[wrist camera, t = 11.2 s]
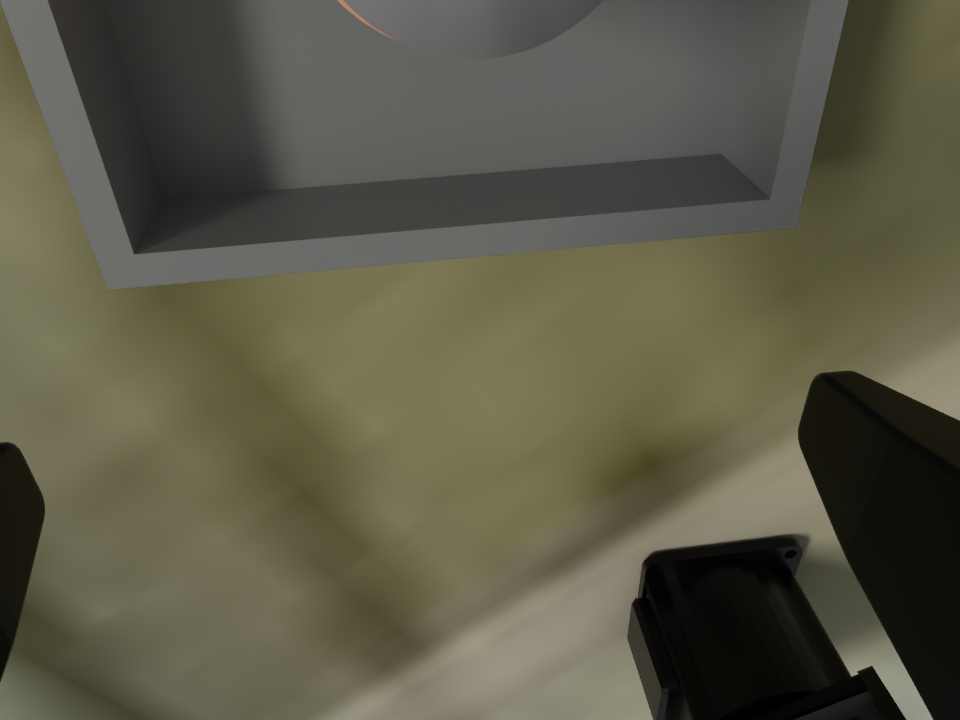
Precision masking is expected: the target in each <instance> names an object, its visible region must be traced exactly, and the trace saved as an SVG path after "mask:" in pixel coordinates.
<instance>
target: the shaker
mask: <svg viewBox="0 0 960 720" xmlns="http://www.w3.org/2000/svg"><path fill="white" fill-rule="evenodd" d="M337 1H338V2H339V3H340V4H341V5H342V6H343V7H344V8H346V9H347V10H348V11H349V12H351V13H352V14H353V15H354V16H356V17H357V18H358V19H359V20H361V21H362V22H363V23H365V24H367V25H368V26H370V27H372V28H373V29H375V30H376V31H378V32H380V33H381V34H383V35H385V36H387V37H390V38H392V39H394V40H396V41H398V42H401V43H403V44H405V45H407V46H410V47H412V48H414V49H416V50H420V51H423V52H427V53H430V54H434V55H437V56H443V57H450V58H457V59H490V58H497V57H505V56H509V55H513V54H516V53H520V52H524V51H527V50H530V49H532V48H535V47H537V46H539V45H542V44H544V43H546V42H549V41H551V40H552V39H554V38H556V37H557V36H559V35H561V34H563V33H564V32H566V31H568V30H569V29H571V28H572V27H573V26H575V25H576V24H577V23H579V22H580V21H581V20H582V19H584V18H585V17H586V16H588V15H589V14H590V13H591V12H592V11H593V10H594V9H595V8H596V7H597V6H598V5H599V4H600V3H601V2H602V1H603V0H337Z"/></svg>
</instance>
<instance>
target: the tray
mask: <svg viewBox="0 0 960 720" xmlns="http://www.w3.org/2000/svg"><path fill="white" fill-rule="evenodd" d="M848 1H849V0H603V1H602V2H601V3H600V4H599V5H598V6H597V7H596V8H595V9H594V10H593V11H592V12H591V13H590V14H589V15H588V16H586V17H585V18H584V19H582V20H581V21H580V22H579V23H577V24H576V25H575V26H573V27H572V28H571V29H569V30H568V31H566V32H564V33H563V34H561V35H559V36H557V37H556V38H554V39H552V40H551V41H549V42H546V43H544V44H542V45H539V46H537V47H535V48H532V49H530V50H527V51H524V52H520V53H516V54H513V55H509V56H505V57H497V58H490V59H457V58H450V57H443V56H437V55H434V54H430V53H427V52H423V51H420V50H416V49H414V48H412V47H410V46H407V45H405V44H403V43H401V42H398V41H396V40H394V39H392V38H390V37H387V36H385V35H383V34H381V33H380V32H378V31H376V30H375V29H373V28H372V27H370V26H368V25H367V24H365V23H363V22H362V21H361V20H359V19H358V18H357V17H356V16H354V15H353V14H352V13H351V12H349V11H348V10H347V9H346V8H344V7H343V6H342V5H341V4H340V3H339V2H338V1H337V0H0V2H1V5H2V7H3V10H4V13H5V15H6V18H7V21H8V23H9V26H10V29H11V31H12V34H13V37H14V39H15V42H16V45H17V47H18V50H19V53H20V55H21V58H22V61H23V63H24V66H25V69H26V71H27V74H28V77H29V79H30V82H31V85H32V88H33V90H34V93H35V96H36V98H37V101H38V104H39V106H40V109H41V112H42V114H43V117H44V120H45V122H46V125H47V128H48V130H49V133H50V136H51V138H52V141H53V144H54V146H55V149H56V152H57V154H58V157H59V160H60V162H61V165H62V168H63V170H64V173H65V176H66V179H67V181H68V184H69V187H70V189H71V192H72V195H73V197H74V200H75V203H76V205H77V208H78V211H79V213H80V216H81V219H82V221H83V224H84V227H85V229H86V232H87V235H88V237H89V240H90V243H91V245H92V248H93V251H94V253H95V256H96V259H97V261H98V264H99V267H100V269H101V272H102V275H103V278H104V280H105V283H106V286H107V288H108V290H111V289H123V288H134V287H145V286H156V285H167V284H178V283H189V282H200V281H212V280H223V279H234V278H245V277H256V276H267V275H278V274H290V273H301V272H312V271H323V270H334V269H345V268H356V267H368V266H379V265H390V264H401V263H412V262H423V261H434V260H445V259H457V258H468V257H479V256H490V255H501V254H512V253H523V252H535V251H546V250H557V249H568V248H579V247H590V246H601V245H612V244H624V243H635V242H646V241H657V240H668V239H679V238H690V237H702V236H713V235H724V234H735V233H746V232H757V231H768V230H779V229H791V228H796V227H797V223H798V219H799V214H800V210H801V206H802V201H803V197H804V193H805V188H806V184H807V179H808V175H809V171H810V166H811V162H812V158H813V153H814V149H815V145H816V140H817V136H818V132H819V127H820V123H821V118H822V114H823V110H824V105H825V101H826V97H827V92H828V88H829V84H830V79H831V75H832V70H833V66H834V62H835V57H836V53H837V49H838V44H839V40H840V36H841V31H842V27H843V22H844V18H845V14H846V9H847V5H848Z"/></svg>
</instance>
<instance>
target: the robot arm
mask: <svg viewBox="0 0 960 720" xmlns="http://www.w3.org/2000/svg"><path fill="white" fill-rule="evenodd" d="M798 440H799V444H800V448H801V451H802V453H803V455H804V458H805V460H806V463H807V465H808V468H809V470H810V473H811V475H812V477H813V480H814V482H815V485H816V487H817V490H818V492H819V495H820V497H821V500H822V502H823V504H824V507H825V509H826V512H827V514H828V517H829V519H830V522H831V524H832V526H833V529H834V531H835V534H836V536H837V539H838V541H839V543H840V545H841V548H842V550H843V552H844V554H845V557H846V559H847V560H848V562H849V564H850V566H851V568H852V570H853V572H854V574H855V576H856V578H857V580H858V582H859V583H860V585H861V587H862V589H863V591H864V593H865V594H866V596H867V598H868V600H869V602H870V604H871V606H872V607H873V609H874V611H875V613H876V615H877V617H878V618H879V620H880V622H881V624H882V626H883V628H884V629H885V631H886V633H887V635H888V637H889V639H890V641H891V642H892V644H893V646H894V648H895V650H896V652H897V653H898V655H899V657H900V659H901V661H902V663H903V664H904V666H905V668H906V670H907V672H908V674H909V676H910V677H911V679H912V681H913V683H914V685H915V687H916V688H917V690H918V692H919V694H920V696H921V698H922V699H923V701H924V703H925V705H926V707H927V709H928V710H929V712H930V714H931V716H932V718H933V720H960V421H959V420H957V419H955V418H953V417H950V416H948V415H946V414H944V413H942V412H940V411H938V410H936V409H933V408H931V407H929V406H927V405H925V404H923V403H921V402H918V401H916V400H914V399H912V398H910V397H908V396H906V395H904V394H901V393H899V392H897V391H895V390H893V389H891V388H889V387H887V386H884V385H882V384H880V383H878V382H876V381H874V380H872V379H869V378H867V377H865V376H863V375H861V374H859V373H857V372H854V371H838V372H826V373H820V374H819V375H817V376H816V377H815V378H814V379H813V380H812V383H811V385H810V388H809V392H808V395H807V399H806V402H805V406H804V409H803V413H802V416H801V420H800V423H799V428H798ZM44 516H45V504H44V499H43V496H42V493H41V491H40V489H39V487H38V485H37V483H36V481H35V479H34V477H33V475H32V472H31V470H30V468H29V466H28V464H27V462H26V460H25V458H24V456H23V454H22V452H21V451H20V449H19V448H18V447H17V446H16V445H14V444H12V443H9V442H1V443H0V681H1V679H2V676H3V673H4V670H5V668H6V665H7V662H8V659H9V656H10V653H11V650H12V647H13V644H14V640H15V637H16V633H17V629H18V626H19V622H20V618H21V613H22V609H23V605H24V601H25V597H26V592H27V588H28V584H29V580H30V576H31V571H32V567H33V563H34V559H35V555H36V551H37V546H38V542H39V538H40V534H41V530H42V525H43V521H44ZM801 556H802V548H801V547H800V545H799V543H798V542H797V540H795V539H793V538H788V539H780V540H771V541H763V542H755V543H747V544H739V545H731V546H723V547H715V548H707V549H699V550H690V551H682V552H674V553H666V554H658V555H653V556H650V557H648V558H646V559H645V560H644V562H643V564H642V570H641V578H640V585H639V592H638V598H635V600H634V601H633V603H632V606H631V613H630V621H629V628H628V636H627V638H628V642H629V645H630V648H631V651H632V654H633V657H634V661H635V664H636V667H637V670H638V673H639V676H640V679H641V682H642V685H643V689H644V692H645V695H646V698H647V701H648V704H649V707H650V710H651V714H652V717H653V720H906V719H905V717H904V715H903V714H902V712H901V711H900V709H899V708H898V706H897V704H896V703H895V701H894V700H893V698H892V697H891V695H890V693H889V692H888V690H887V689H886V687H885V685H884V684H883V682H882V681H881V679H880V678H879V676H878V674H877V673H876V671H875V670H874V668H873V667H872V666H870V667H868V668H865V669H862V670H860V671H857V672H858V675H855V676H853V677H851V675H850V673H849V671H848V670H847V668H846V666H845V664H844V663H843V661H842V659H841V657H840V656H839V654H838V652H837V650H836V649H835V647H834V645H833V643H832V642H831V640H830V638H829V636H828V635H827V633H826V631H825V629H824V628H823V626H822V624H821V622H820V621H819V619H818V617H817V615H816V614H815V612H814V610H813V608H812V606H811V605H810V603H809V601H808V599H807V598H806V596H805V594H804V592H803V591H802V589H801V587H800V585H799V584H798V582H797V580H796V578H795V574H796V571H797V568H798V565H799V562H800V559H801Z"/></svg>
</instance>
